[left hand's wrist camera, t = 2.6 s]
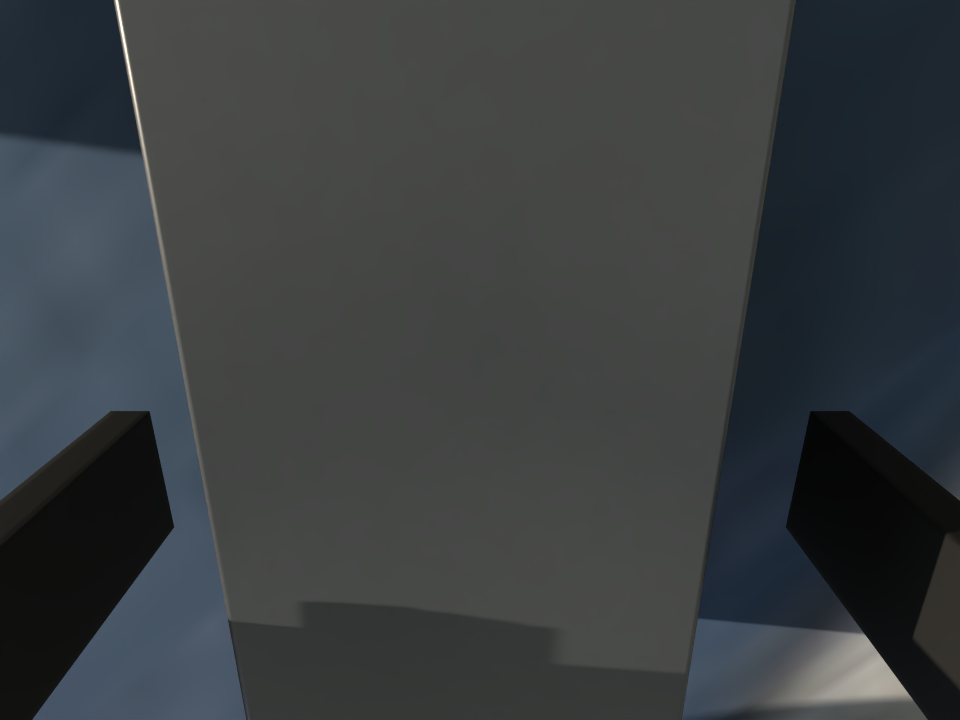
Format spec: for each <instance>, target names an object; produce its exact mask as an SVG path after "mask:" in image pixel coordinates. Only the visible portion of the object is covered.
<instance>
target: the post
mask: <svg viewBox="0 0 960 720" xmlns="http://www.w3.org/2000/svg"><path fill="white" fill-rule="evenodd" d="M114 4H115V10H116V15H117V20H118V26H119V31H120V37H121V42H122V48H123V53H124V58H125V64H126V69H127V75H128V80H129V85H130V91H131V96H132V102H133V107H134V113H135V118H136V123H137V129H138V134H139V140H140V145H141V150H142V156H143V161H144V167H145V172H146V178H147V183H148V188H149V194H150V199H151V205H152V210H153V215H154V221H155V226H156V232H157V237H158V243H159V248H160V253H161V259H162V264H163V270H164V275H165V280H166V286H167V291H168V297H169V302H170V308H171V313H172V318H173V324H174V329H175V335H176V340H177V345H178V351H179V356H180V362H181V367H182V373H183V378H184V383H185V389H186V394H187V400H188V405H189V410H190V416H191V421H192V427H193V432H194V438H195V443H196V448H197V454H198V459H199V465H200V470H201V475H202V481H203V486H204V492H205V497H206V503H207V508H208V513H209V519H210V524H211V530H212V535H213V540H214V546H215V551H216V557H217V562H218V568H219V573H220V578H221V584H222V589H223V595H224V600H225V605H226V611H227V616H228V622H229V627H230V633H231V638H232V643H233V649H234V654H235V660H236V665H237V670H238V676H239V681H240V687H241V692H242V698H243V703H244V708H245V714H246V719H247V720H682V714H683V707H684V701H685V695H686V688H687V682H688V676H689V670H690V663H691V657H692V651H693V644H694V638H695V632H696V626H697V619H698V613H699V607H700V601H701V594H702V588H703V582H704V575H705V569H706V563H707V557H708V550H709V544H710V538H711V531H712V525H713V519H714V513H715V506H716V500H717V494H718V487H719V481H720V475H721V469H722V462H723V456H724V450H725V444H726V437H727V431H728V425H729V418H730V412H731V406H732V400H733V393H734V387H735V381H736V374H737V368H738V362H739V356H740V349H741V343H742V337H743V330H744V324H745V318H746V312H747V305H748V299H749V293H750V287H751V280H752V274H753V268H754V261H755V255H756V249H757V243H758V236H759V230H760V224H761V217H762V211H763V205H764V199H765V192H766V186H767V180H768V173H769V167H770V161H771V155H772V148H773V142H774V136H775V130H776V123H777V117H778V111H779V104H780V98H781V92H782V86H783V79H784V73H785V67H786V60H787V54H788V48H789V42H790V35H791V29H792V23H793V16H794V10H795V4H796V0H114Z"/></svg>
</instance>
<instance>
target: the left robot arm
mask: <svg viewBox="0 0 960 720" xmlns="http://www.w3.org/2000/svg"><path fill="white" fill-rule="evenodd" d="M173 528H174V524H173V520H172V515H171V510H170V506H169V501H168V496H167V492H166V487H165V482H164V477H163V473H162V468H161V463H160V459H159V454H158V449H157V445H156V440H155V435H154V430H153V426H152V421H151V416H150V412H149V411H111V412H109V413H108V414H107V415H106V416H104V417H103V418H102V419H101V420H99V421H98V422H97V423H96V424H95V425H93V426H92V427H91V428H90V429H88V430H87V431H86V432H85V433H83V434H82V435H81V436H80V437H78V438H77V439H76V440H75V441H74V442H72V443H71V444H70V445H69V446H67V447H66V448H65V449H64V450H62V451H61V452H60V453H59V454H57V455H56V456H55V457H54V458H53V459H51V460H50V461H49V462H48V463H46V464H45V465H44V466H43V467H41V468H40V469H39V470H38V471H36V472H35V473H34V474H33V475H32V476H30V477H29V478H28V479H27V480H25V481H24V482H23V483H22V484H20V485H19V486H18V487H17V488H16V489H14V490H13V491H12V492H11V493H9V494H8V495H7V496H6V497H4V498H3V499H2V500H1V501H0V720H32V719H33V718H34V716H35V715H36V714H37V712H38V711H39V710H40V708H41V707H42V705H43V704H44V703H45V701H46V700H47V699H48V697H49V696H50V695H51V693H52V692H53V691H54V689H55V688H56V686H57V685H58V684H59V682H60V681H61V680H62V678H63V677H64V676H65V674H66V673H67V672H68V670H69V669H70V668H71V666H72V665H73V663H74V662H75V661H76V659H77V658H78V657H79V655H80V654H81V653H82V651H83V650H84V649H85V647H86V646H87V644H88V643H89V642H90V640H91V639H92V638H93V636H94V635H95V634H96V632H97V631H98V630H99V628H100V627H101V625H102V624H103V623H104V621H105V620H106V619H107V617H108V616H109V615H110V613H111V612H112V611H113V609H114V608H115V606H116V605H117V604H118V602H119V601H120V600H121V598H122V597H123V596H124V594H125V593H126V592H127V590H128V589H129V588H130V586H131V585H132V583H133V582H134V581H135V579H136V578H137V577H138V575H139V574H140V573H141V571H142V570H143V569H144V567H145V566H146V564H147V563H148V562H149V560H150V559H151V558H152V556H153V555H154V554H155V552H156V551H157V550H158V548H159V547H160V545H161V544H162V543H163V541H164V540H165V539H166V537H167V536H168V535H169V533H170V532H171V531H172V529H173ZM786 528H787V529H788V531H789V532H790V533H791V535H792V536H793V537H794V539H795V540H796V541H797V543H798V544H799V545H800V547H801V548H802V550H803V551H804V552H805V554H806V555H807V556H808V558H809V559H810V560H811V562H812V563H813V564H814V566H815V567H816V569H817V570H818V571H819V573H820V574H821V575H822V577H823V578H824V579H825V581H826V582H827V583H828V585H829V586H830V588H831V589H832V590H833V592H834V593H835V594H836V596H837V597H838V598H839V600H840V601H841V602H842V604H843V605H844V607H845V608H846V609H847V611H848V612H849V613H850V615H851V616H852V617H853V619H854V620H855V621H856V623H857V624H858V625H859V627H860V628H861V630H862V631H863V632H864V634H865V635H866V636H867V638H868V639H869V640H870V642H871V643H872V644H873V646H874V647H875V649H876V650H877V651H878V653H879V654H880V655H881V657H882V658H883V659H884V661H885V662H886V663H887V665H888V666H889V668H890V669H891V670H892V672H893V673H894V674H895V676H896V677H897V678H898V680H899V681H900V682H901V684H902V685H903V686H904V688H905V689H906V691H907V692H908V693H909V695H910V696H911V697H912V699H913V700H914V701H915V703H916V704H917V705H918V707H919V708H920V710H921V711H922V712H923V714H924V715H925V716H926V718H927V719H928V720H960V501H959V500H958V499H957V498H956V497H954V496H953V495H952V494H951V493H949V492H948V491H947V490H946V489H944V488H943V487H942V486H941V485H940V484H938V483H937V482H936V481H935V480H933V479H932V478H931V477H930V476H928V475H927V474H926V473H925V472H924V471H922V470H921V469H920V468H919V467H917V466H916V465H915V464H914V463H912V462H911V461H910V460H909V459H907V458H906V457H905V456H904V455H903V454H901V453H900V452H899V451H898V450H896V449H895V448H894V447H893V446H891V445H890V444H889V443H888V442H886V441H885V440H884V439H883V438H882V437H880V436H879V435H878V434H877V433H875V432H874V431H873V430H872V429H870V428H869V427H868V426H867V425H865V424H864V423H863V422H862V421H861V420H859V419H858V418H857V417H856V416H854V415H853V414H852V413H851V412H849V411H811V412H810V416H809V421H808V426H807V430H806V435H805V440H804V445H803V449H802V454H801V459H800V463H799V468H798V473H797V477H796V482H795V487H794V492H793V496H792V501H791V506H790V510H789V515H788V520H787V524H786Z"/></svg>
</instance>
